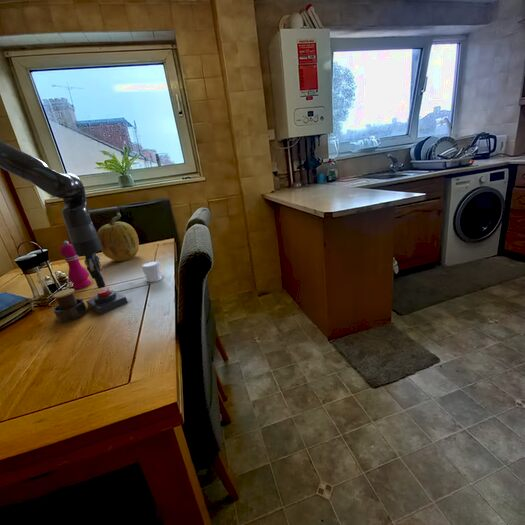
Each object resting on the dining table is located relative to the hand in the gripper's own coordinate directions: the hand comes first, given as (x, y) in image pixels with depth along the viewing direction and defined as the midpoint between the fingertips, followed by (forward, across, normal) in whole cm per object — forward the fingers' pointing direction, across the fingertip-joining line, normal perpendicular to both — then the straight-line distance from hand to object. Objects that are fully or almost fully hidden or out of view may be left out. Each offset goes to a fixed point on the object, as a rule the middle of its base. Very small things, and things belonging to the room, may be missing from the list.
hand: (101, 286), depth 95 cm
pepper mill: (+7, -29, -11) cm, 32 cm away
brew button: (+3, 0, 0) cm, 3 cm away
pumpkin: (+7, -58, +6) cm, 58 cm away
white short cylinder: (+7, -13, +17) cm, 23 cm away
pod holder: (+7, 0, -11) cm, 13 cm away
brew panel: (+7, 0, 0) cm, 7 cm away
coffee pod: (+6, 0, -11) cm, 12 cm away
